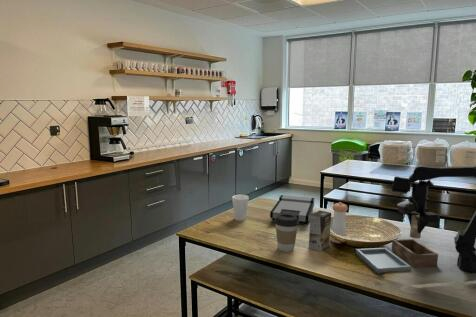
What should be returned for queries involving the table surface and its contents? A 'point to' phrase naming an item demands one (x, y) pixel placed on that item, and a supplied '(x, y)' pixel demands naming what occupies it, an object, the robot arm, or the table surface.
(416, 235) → the dowel pin
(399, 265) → the tray
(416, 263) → the pin trough
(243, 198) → the foam cup
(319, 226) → the coffee box
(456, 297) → the table surface
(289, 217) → the coffee cup
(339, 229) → the pepper shaker
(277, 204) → the office tray
